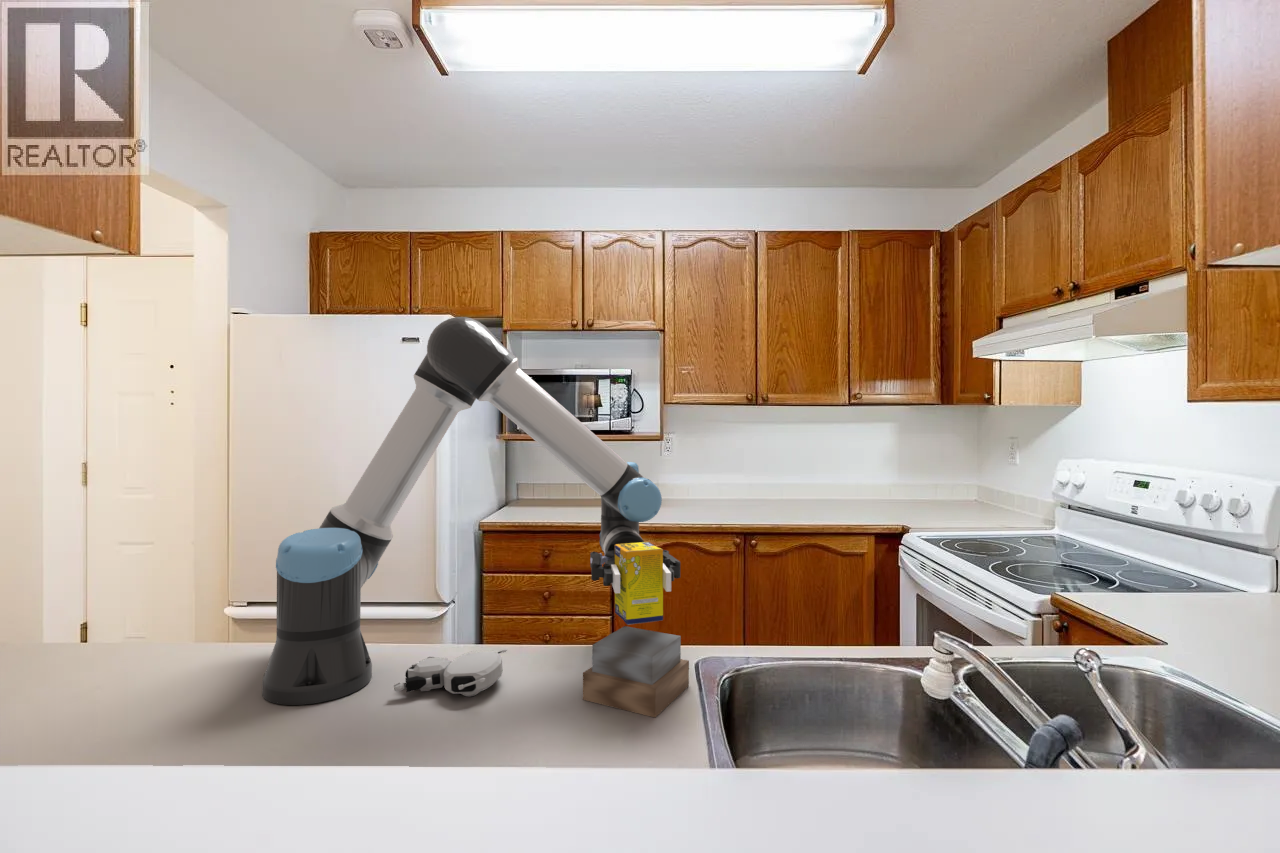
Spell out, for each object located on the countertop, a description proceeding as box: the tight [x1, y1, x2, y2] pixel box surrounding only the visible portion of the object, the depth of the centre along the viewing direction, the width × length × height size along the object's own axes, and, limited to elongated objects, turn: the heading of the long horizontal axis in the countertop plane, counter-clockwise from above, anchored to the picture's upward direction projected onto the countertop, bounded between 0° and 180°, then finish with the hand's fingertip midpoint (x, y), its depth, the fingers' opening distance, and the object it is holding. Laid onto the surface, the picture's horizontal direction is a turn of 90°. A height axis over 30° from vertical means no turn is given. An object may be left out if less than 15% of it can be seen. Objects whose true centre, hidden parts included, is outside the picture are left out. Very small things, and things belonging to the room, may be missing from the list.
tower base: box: [582, 625, 690, 718], centre depth 95 cm, size 12×12×8 cm
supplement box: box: [614, 541, 664, 626], centre depth 95 cm, size 6×6×11 cm
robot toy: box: [393, 648, 508, 698], centre depth 96 cm, size 12×4×15 cm
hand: (643, 583), depth 90 cm, fingers closed on supplement box, 7 cm apart
